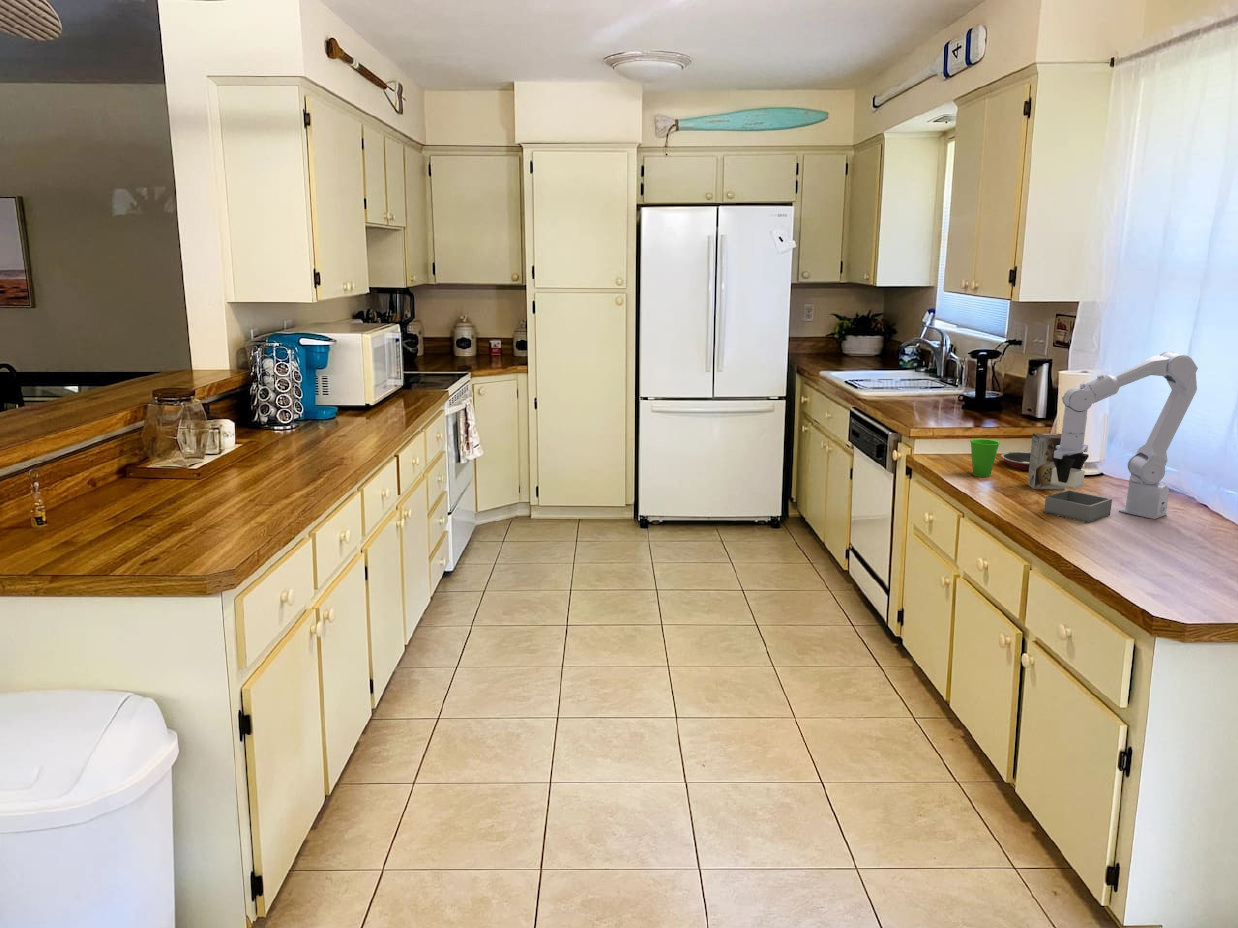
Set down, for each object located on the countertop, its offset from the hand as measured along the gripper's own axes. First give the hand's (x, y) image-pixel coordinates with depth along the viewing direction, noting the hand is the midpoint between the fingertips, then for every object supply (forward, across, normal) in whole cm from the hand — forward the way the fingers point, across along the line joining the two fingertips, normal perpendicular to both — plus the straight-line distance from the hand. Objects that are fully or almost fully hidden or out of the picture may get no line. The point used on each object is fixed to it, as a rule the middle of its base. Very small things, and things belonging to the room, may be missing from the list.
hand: (1067, 480), depth 257 cm
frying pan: (+9, -37, -28) cm, 48 cm away
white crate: (+1, 0, 0) cm, 1 cm away
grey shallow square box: (+8, +1, +4) cm, 9 cm away
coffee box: (+9, -20, -16) cm, 27 cm away
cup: (+8, -17, -36) cm, 41 cm away
